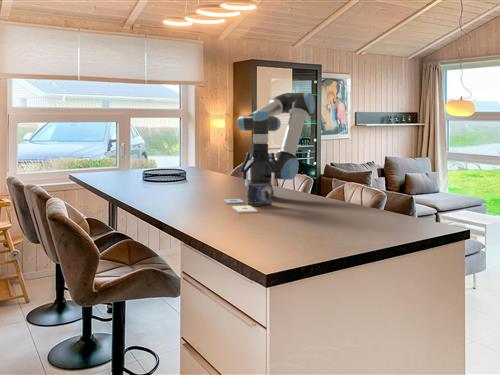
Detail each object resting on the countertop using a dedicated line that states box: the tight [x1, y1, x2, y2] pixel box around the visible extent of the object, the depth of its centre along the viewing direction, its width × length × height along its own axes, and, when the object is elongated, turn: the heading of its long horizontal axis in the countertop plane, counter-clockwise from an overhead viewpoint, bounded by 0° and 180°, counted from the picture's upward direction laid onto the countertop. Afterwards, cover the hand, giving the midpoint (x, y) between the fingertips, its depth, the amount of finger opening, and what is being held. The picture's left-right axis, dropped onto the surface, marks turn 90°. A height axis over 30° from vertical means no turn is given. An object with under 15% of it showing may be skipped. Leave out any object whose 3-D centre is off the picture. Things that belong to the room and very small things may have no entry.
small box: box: [247, 183, 273, 207], centre depth 238 cm, size 11×6×10 cm, turn 117°
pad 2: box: [231, 205, 258, 214], centre depth 224 cm, size 9×14×1 cm, turn 15°
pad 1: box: [222, 198, 245, 205], centre depth 246 cm, size 9×10×1 cm
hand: (259, 185), depth 237 cm, fingers open, 13 cm apart
